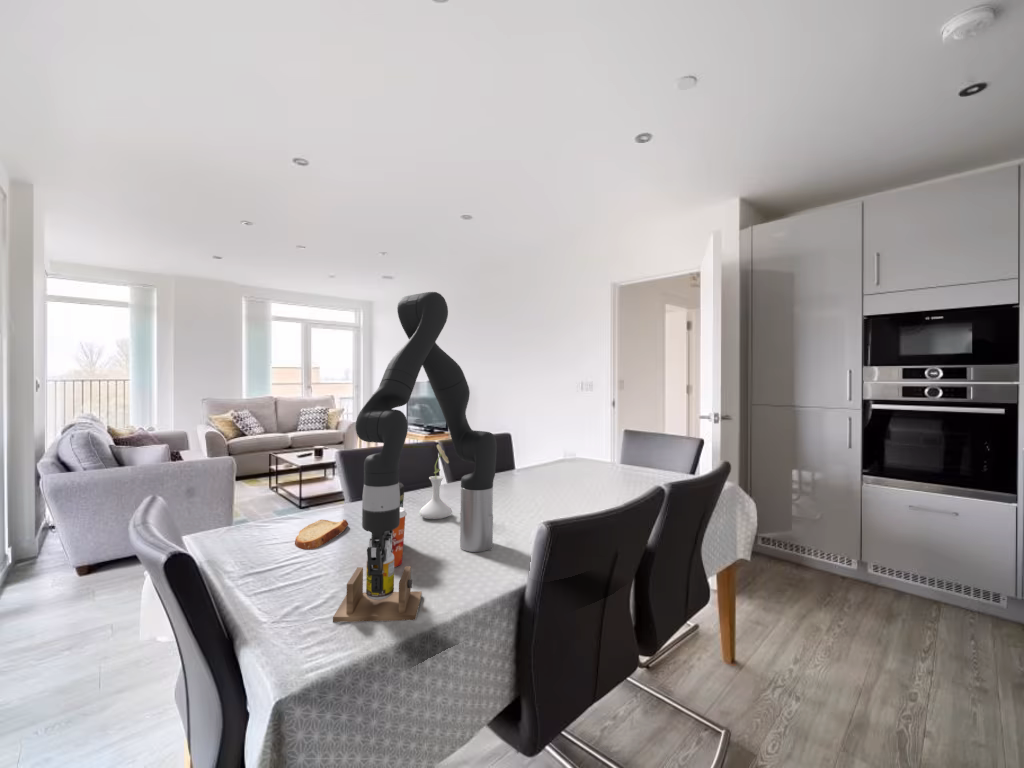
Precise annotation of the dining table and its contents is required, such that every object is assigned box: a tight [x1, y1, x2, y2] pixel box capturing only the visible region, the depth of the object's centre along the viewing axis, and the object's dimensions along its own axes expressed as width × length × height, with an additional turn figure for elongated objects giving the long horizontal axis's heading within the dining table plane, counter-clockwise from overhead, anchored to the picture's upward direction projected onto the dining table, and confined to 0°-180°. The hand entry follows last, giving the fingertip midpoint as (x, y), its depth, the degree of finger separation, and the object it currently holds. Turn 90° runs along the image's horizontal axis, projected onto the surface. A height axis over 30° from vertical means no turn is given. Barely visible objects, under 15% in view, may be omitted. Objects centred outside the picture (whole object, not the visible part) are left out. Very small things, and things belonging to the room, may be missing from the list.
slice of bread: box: [294, 519, 349, 550], centre depth 136 cm, size 18×18×4 cm
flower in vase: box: [418, 443, 453, 520], centre depth 157 cm, size 13×11×25 cm
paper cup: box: [392, 506, 408, 568], centre depth 116 cm, size 8×8×14 cm
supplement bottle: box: [365, 545, 395, 600], centre depth 94 cm, size 6×6×10 cm
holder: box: [332, 565, 423, 623], centre depth 94 cm, size 16×10×7 cm, turn 94°
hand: (380, 584), depth 94 cm, fingers closed on supplement bottle, 5 cm apart
